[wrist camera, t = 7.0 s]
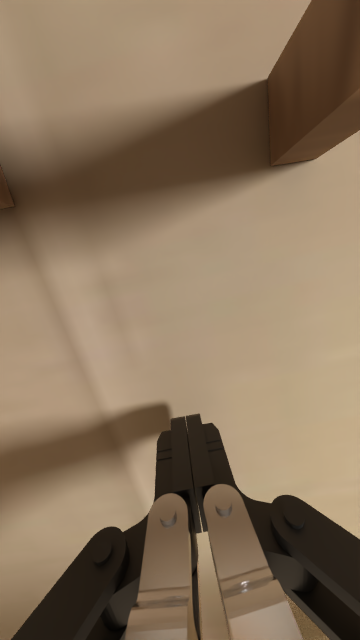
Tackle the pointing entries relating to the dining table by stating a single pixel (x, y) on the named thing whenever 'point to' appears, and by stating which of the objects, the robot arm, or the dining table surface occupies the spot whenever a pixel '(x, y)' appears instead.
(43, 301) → the dining table surface
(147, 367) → the dining table surface
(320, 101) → the bridge
